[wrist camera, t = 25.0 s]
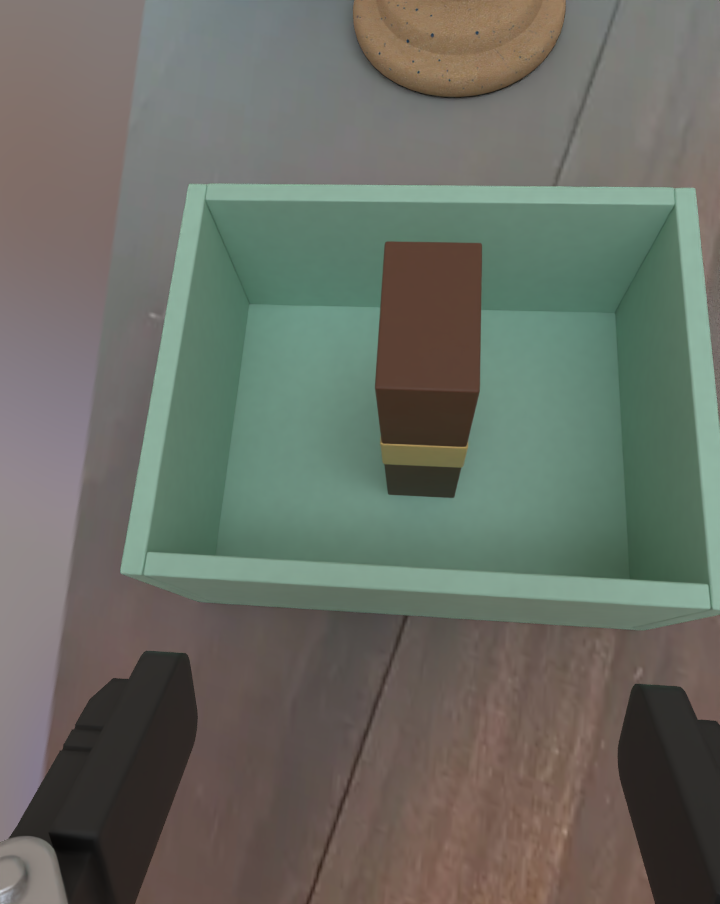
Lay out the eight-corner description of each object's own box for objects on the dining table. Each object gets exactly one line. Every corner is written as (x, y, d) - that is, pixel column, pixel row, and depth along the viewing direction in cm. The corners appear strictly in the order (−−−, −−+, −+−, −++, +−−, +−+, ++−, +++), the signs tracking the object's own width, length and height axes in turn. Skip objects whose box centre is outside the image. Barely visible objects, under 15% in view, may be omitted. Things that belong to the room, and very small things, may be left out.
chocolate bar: (386, 496, 31) (372, 390, 20) (392, 392, 32) (382, 238, 21) (455, 499, 31) (482, 393, 19) (458, 394, 32) (484, 240, 21)
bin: (197, 602, 31) (118, 573, 22) (239, 298, 36) (187, 182, 27) (645, 630, 29) (739, 611, 21) (626, 307, 34) (696, 186, 26)
